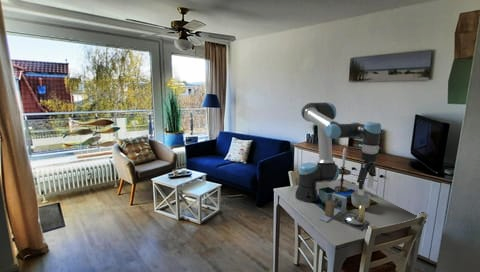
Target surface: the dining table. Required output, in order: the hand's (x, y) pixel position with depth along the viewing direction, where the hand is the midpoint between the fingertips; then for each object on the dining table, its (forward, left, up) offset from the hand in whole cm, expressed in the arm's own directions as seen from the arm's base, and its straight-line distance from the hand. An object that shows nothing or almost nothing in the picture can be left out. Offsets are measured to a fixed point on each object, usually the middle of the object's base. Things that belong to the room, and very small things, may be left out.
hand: (365, 190), depth 133 cm
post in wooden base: (-17, +3, -19) cm, 26 cm away
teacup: (-10, +23, -20) cm, 32 cm away
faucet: (-4, 0, -19) cm, 19 cm away
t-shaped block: (-17, 0, -20) cm, 26 cm away
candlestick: (-29, +40, -20) cm, 53 cm away
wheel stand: (-4, 0, -20) cm, 20 cm away
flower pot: (-26, +12, -20) cm, 35 cm away
